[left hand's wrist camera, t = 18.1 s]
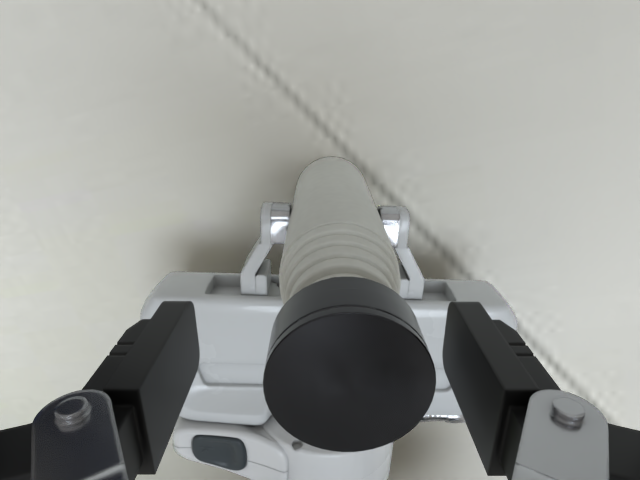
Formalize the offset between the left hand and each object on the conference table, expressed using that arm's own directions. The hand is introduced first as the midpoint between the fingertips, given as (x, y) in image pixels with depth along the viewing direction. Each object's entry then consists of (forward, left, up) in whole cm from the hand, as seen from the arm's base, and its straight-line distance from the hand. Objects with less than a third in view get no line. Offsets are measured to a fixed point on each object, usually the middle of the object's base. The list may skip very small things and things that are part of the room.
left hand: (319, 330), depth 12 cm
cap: (+1, +1, +1) cm, 2 cm away
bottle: (+1, +1, -17) cm, 17 cm away
